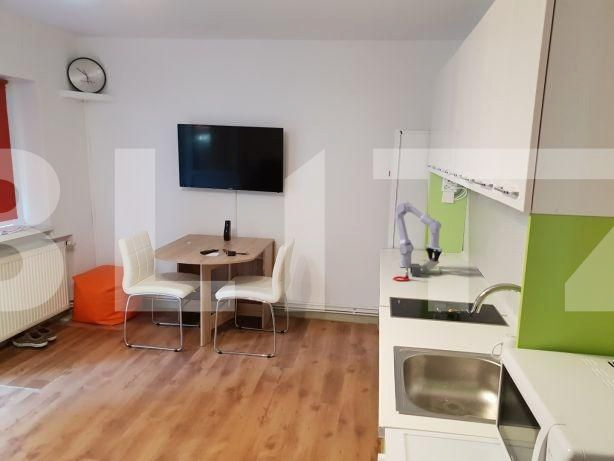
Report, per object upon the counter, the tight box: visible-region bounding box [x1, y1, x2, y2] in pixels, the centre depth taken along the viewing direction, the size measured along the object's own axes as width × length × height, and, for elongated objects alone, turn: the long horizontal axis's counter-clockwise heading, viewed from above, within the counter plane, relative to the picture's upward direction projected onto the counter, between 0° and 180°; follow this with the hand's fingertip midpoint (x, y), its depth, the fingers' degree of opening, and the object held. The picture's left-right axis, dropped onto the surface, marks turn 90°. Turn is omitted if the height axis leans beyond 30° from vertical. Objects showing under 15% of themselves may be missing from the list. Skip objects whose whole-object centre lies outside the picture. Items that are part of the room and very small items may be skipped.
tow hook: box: [392, 259, 410, 282], centre depth 267 cm, size 8×13×9 cm
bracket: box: [409, 262, 422, 278], centre depth 278 cm, size 9×5×6 cm, turn 175°
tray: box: [420, 265, 442, 275], centre depth 287 cm, size 10×18×2 cm, turn 85°
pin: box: [420, 257, 440, 274], centre depth 282 cm, size 4×13×4 cm
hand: (433, 260), depth 285 cm, fingers closed on pin, 6 cm apart
